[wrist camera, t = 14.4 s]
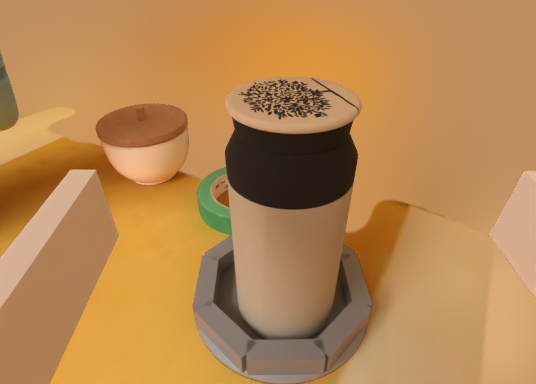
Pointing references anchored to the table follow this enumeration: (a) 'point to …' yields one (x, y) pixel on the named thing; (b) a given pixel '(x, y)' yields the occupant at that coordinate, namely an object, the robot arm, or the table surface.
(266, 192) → the travel mug
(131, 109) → the lidded jar
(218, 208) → the tape roll
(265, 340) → the socket ring
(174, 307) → the table surface
